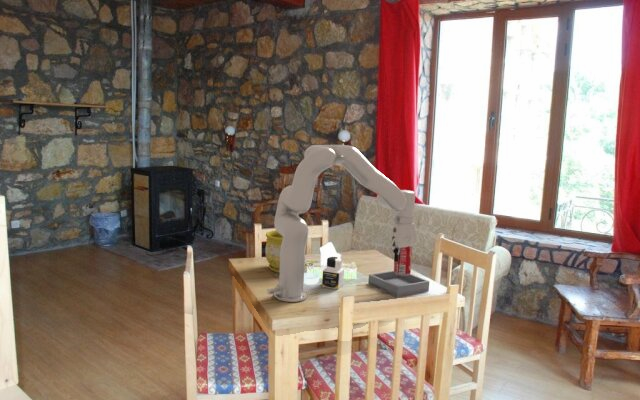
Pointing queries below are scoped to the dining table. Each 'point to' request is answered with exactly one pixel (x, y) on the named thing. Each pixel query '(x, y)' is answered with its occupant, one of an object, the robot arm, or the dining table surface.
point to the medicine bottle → (333, 273)
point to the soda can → (403, 262)
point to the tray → (398, 283)
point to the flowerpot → (273, 250)
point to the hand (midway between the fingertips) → (400, 262)
